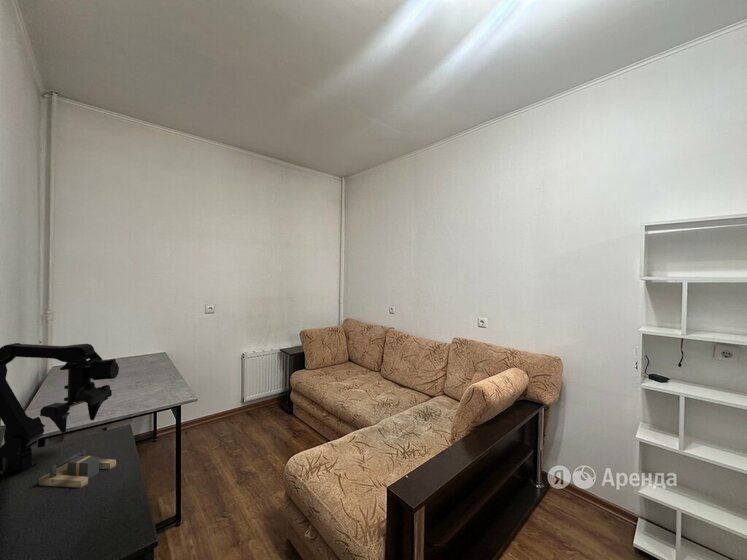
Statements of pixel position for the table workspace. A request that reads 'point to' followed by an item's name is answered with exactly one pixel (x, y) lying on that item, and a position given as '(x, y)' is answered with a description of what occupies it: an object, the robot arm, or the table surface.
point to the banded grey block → (83, 466)
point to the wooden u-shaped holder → (62, 479)
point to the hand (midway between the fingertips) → (78, 426)
